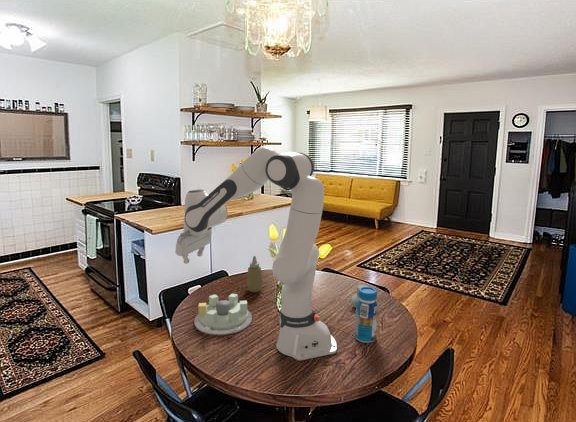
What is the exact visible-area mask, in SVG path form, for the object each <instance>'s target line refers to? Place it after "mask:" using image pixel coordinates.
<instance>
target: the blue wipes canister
mask: <svg viewBox="0 0 576 422" xmlns="http://www.w3.org/2000/svg"><path fill="white" fill-rule="evenodd" d="M377 297H378V291H377V289H375V288H374V287H372V286H371V287H370V286H369V287H362V288H360V289H359V298H360V299H359V300H358V302H357V304H356V307H357V308H356V309H355V326H354V338H355V339H356V340H357V341H358V342H361V343H365V344H366V343H367V344H371V343H373V342H375V341H376V338H377V326H378V325H377V324H378V317H379V312H378V310H379V305H378V303H377V301H376V300H377V299H378V298H377Z"/></svg>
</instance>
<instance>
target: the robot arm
mask: <svg viewBox="0 0 576 422" xmlns="http://www.w3.org/2000/svg"><path fill="white" fill-rule="evenodd" d="M314 171H315V163H314V161H313V159H312V158H311V157H310V155H308V154H307V153H303V152H294V151H287V152H286V151H285V152H280V153H277V151H276V150H275V149H273V148H271V146H270V147H269V146H262V147H260V148H258V149H256V150H255V151H254V152H253V153H251V154H250V155H249V156H248V157H247V158H245V160H244V161H243V162H242V163H241V164H239V166H238V167H237V168H236V169H235V170H234V171H233V172H232V173H231V174H230V175H229V176H228V177H227V178H226V179H224V181H222V183H220V184H219V185H218V186H217V187H216V188H214V189H213V190H212V191H211V192H210V193H209V192H207V190H205V189H193V190H189V191H187V192H186V194H185V198H184V211H183V212H184V219H183V232H181V233H180V235H179V236H178V237H177V239H176V243H175V244H176V245H175V255H176V256H180V257H182V259H183V264H185V265H186V264H189V263H190V258H188V256H189V254H192V253H193V252H196V251H197V250H198V251H197V252H196V253H197V254H196V255H197V256H196V257H202V256H203V253H204V250H205V248H206V246H207V245H209V244H210V243H211V241H212V229H213V227H215V226H218V225H219V226H220V225H221V224H223V223H225V222H226V221H227V218H228V209H227V206H226V205H225V204H227V203H229V202H231V201H233V200H236V199H238V198H242V197H246V196H249V195H252V194H253V193H255V192H257V191H258V190H259V189H261V188H262V187H264V185H265V184H266V183H267V182H269V181H270V182H271V183H272V184H274V185H276V186H278V187H280V188H281V189H283V190H284V191H290V192H291V202H290V207H289V211H288V212H289V214H288V219H287V225H286V229H285V231H284V232H285V233H284V235H283V237H282V241H281V243H280V247H279V249H278V253H277V255H276V257H275V259H274V261H273V264H272V268H271V269H272V274H273V276H274V278H275V279H276V280H277V281H278V282H279V283H281V284H283V286H282V287H281V292H280V293H281V294H280V295H281V296H280V297H281V299H280V304H281V305H280V307H281V308H280V310H279V326H280V327H279V333H278V337H277V338H278V339H277V342H276V349H277V350H278V351H279V352H280V353H282V354H283V355H285V356H288V357H291V358H293V359H295V361H299V362H300V361H304V360H310V359H315V358H320V357H324V356H329V355H334V354H336V353H337V351H338V345H337V344H338V343H337V341H336V339H335V338H334V336H333V335H331V333H330V330H329V327H328V326H327V325H326V323H324V322H323V321H321V318H320V315H319V314H318V313H317V311H316V310H315V309H314V308H313V307H312V299H313V298H312V297H313V287H314V281H315V277H316V270H317V264H318V260H319V257H320V250H319V248H318V246H317V245H316V243H315V242H316V239H317V237H318V235H319V231H320V226H321V221H322V220H321V219H322V215H323V210H324V201H325V186H324V183H323V181H321V180H320V179H319V178H317V177H313V174H314Z"/></svg>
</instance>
